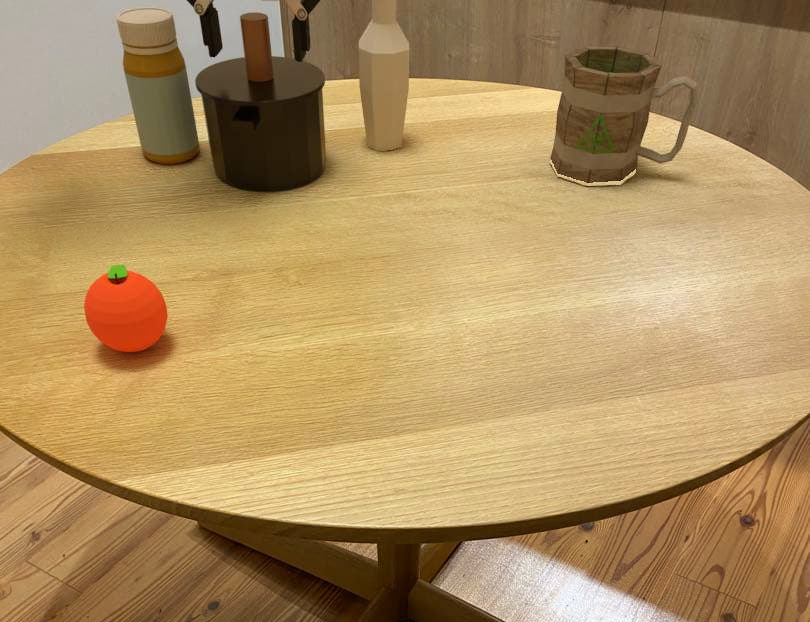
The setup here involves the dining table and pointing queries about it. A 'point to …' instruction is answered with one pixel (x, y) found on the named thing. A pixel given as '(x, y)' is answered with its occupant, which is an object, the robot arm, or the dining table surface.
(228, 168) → the pot
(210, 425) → the dining table surface
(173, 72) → the bottle
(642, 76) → the mug
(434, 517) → the dining table surface
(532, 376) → the dining table surface
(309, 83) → the lid
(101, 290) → the clementine
